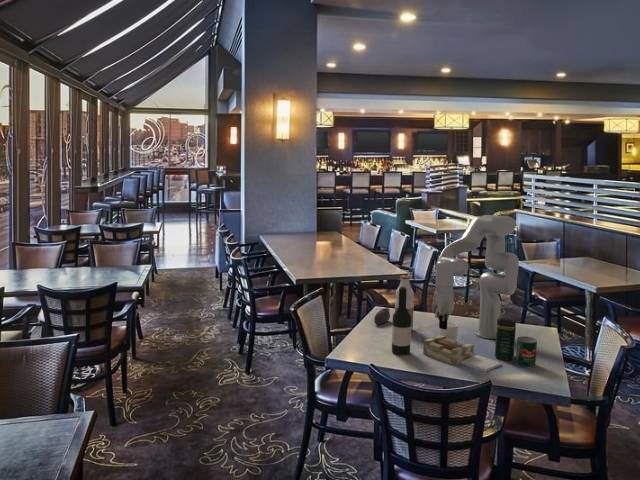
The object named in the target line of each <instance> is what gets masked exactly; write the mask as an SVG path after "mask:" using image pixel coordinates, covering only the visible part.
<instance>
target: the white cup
mask: <svg viewBox="0 0 640 480" xmlns="http://www.w3.org/2000/svg"><path fill="white" fill-rule="evenodd" d="M458 328H459V325H458V324H457V323H455V322H452V321H450V322H449V321H447V329H445V330H444V329H440V335H444V336H446V338H449V339H452V340H455V341H458V340H457V339H458V331H459V329H458Z"/></svg>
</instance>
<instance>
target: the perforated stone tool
mask: <svg viewBox="0 0 640 480" xmlns="http://www.w3.org/2000/svg"><path fill="white" fill-rule="evenodd" d="M390 318H391V314H390V308H388V307H384V308H382V309H380V310H379V311H377V313H376V314H375V316H374V319H373V320H374V324H375V325H378V326H379V325H382V324H385V323H386V322H387V321H389V320H390Z"/></svg>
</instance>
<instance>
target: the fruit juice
mask: <svg viewBox="0 0 640 480" xmlns="http://www.w3.org/2000/svg"><path fill="white" fill-rule="evenodd" d="M399 279H400V282H399V286H398V287H397V289H396V290H395V297H396V299H395V300H394V301H395V302H394V312H395V311H396V310H397V308H398V306H399V288H400V287H401V286H404V287H406V289H407V295H406V308H407V310H408V312H409V314H410V316H411V332H413V328H414V307H415V303H414V301H413V300H414V295H415V292H414V290H413V288H412V287H411V284H410V280H411V276H409V275H407V274H405V275H403V274H401V275H400V276H399Z"/></svg>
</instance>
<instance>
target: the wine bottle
mask: <svg viewBox="0 0 640 480" xmlns="http://www.w3.org/2000/svg"><path fill="white" fill-rule="evenodd" d="M406 295H407V289H406V287H404V286H401V287H400V288H399V306H398V308H397V310H396V311H395V310H394V313H393V314H392V325H391V326H392V332H391V352H392V353H391V354H394V355H396V356H407V355H410V354H411V342H412V341H411V339H412V334H411V333H412V331H411V316H410V314H409V312H408V310H407V308H406Z"/></svg>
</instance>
